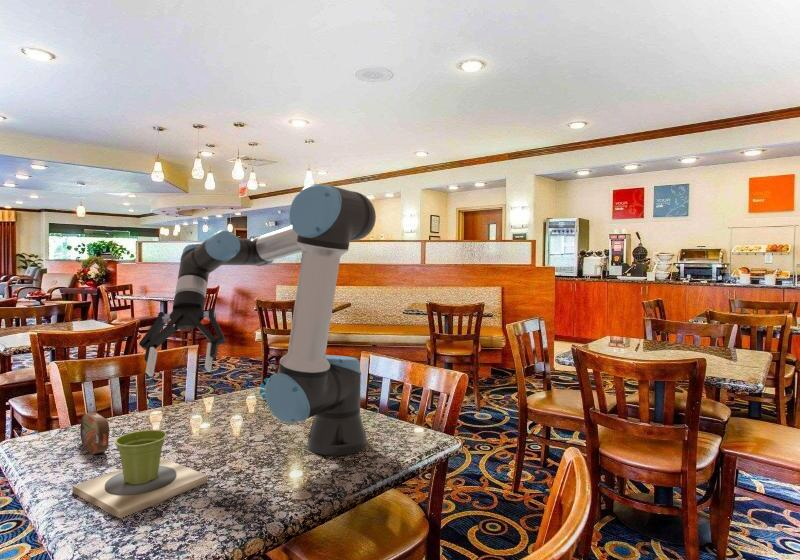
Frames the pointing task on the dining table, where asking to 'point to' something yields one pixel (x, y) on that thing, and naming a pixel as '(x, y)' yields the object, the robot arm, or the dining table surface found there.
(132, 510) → the serving board
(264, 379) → the gear
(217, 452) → the dining table surface
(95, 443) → the tin
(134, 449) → the plant pot
